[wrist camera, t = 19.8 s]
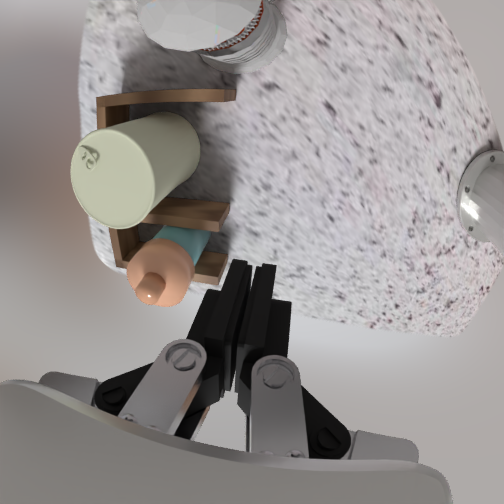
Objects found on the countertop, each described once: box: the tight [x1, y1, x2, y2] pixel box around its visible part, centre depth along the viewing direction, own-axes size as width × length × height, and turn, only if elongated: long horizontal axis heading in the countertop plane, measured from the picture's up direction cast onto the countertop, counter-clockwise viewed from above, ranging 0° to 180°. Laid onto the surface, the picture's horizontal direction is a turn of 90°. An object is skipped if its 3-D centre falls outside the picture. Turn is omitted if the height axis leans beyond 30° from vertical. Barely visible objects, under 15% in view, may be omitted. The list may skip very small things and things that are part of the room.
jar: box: [153, 225, 211, 267], centre depth 33 cm, size 6×6×8 cm
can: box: [71, 112, 200, 229], centre depth 26 cm, size 9×9×12 cm
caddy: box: [96, 89, 236, 285], centre depth 31 cm, size 14×22×5 cm, turn 176°
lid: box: [127, 238, 195, 307], centre depth 27 cm, size 6×6×5 cm
